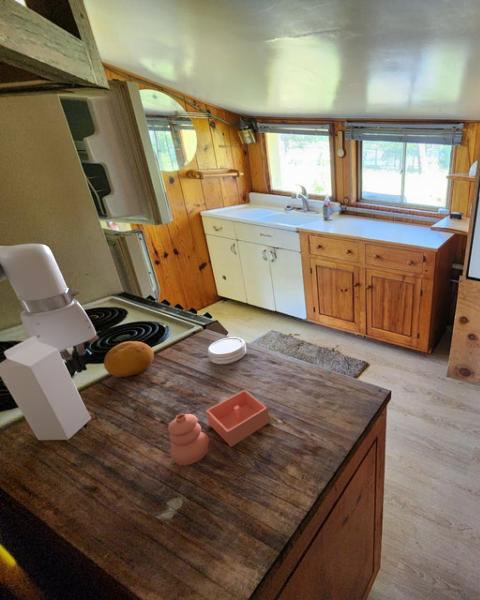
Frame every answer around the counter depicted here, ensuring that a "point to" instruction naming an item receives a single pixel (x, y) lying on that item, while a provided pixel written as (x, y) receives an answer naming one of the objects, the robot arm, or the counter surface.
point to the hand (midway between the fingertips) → (80, 369)
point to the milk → (43, 390)
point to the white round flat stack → (227, 350)
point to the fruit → (128, 358)
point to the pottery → (216, 426)
